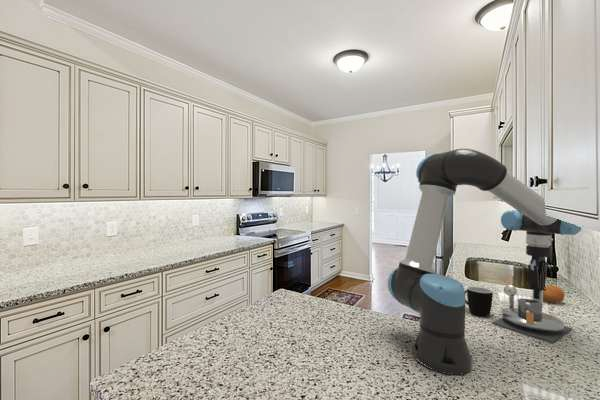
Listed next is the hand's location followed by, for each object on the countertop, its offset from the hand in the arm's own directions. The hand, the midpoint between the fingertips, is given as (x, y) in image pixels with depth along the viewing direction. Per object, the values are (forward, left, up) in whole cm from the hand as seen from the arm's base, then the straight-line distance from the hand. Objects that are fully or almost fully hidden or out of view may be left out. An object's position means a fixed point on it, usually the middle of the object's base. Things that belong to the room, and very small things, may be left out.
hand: (537, 306), depth 110 cm
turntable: (-7, 0, -4) cm, 8 cm away
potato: (+36, +6, -7) cm, 37 cm away
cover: (-8, 0, -3) cm, 9 cm away
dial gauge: (+3, +10, -6) cm, 12 cm away
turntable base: (-7, 0, -6) cm, 9 cm away
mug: (-10, +18, -6) cm, 21 cm away
